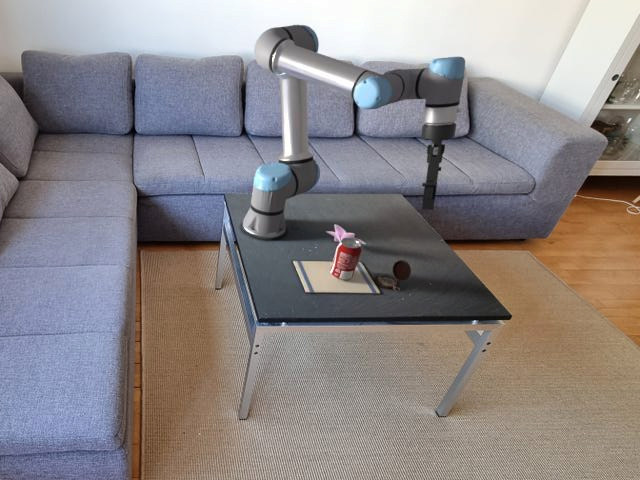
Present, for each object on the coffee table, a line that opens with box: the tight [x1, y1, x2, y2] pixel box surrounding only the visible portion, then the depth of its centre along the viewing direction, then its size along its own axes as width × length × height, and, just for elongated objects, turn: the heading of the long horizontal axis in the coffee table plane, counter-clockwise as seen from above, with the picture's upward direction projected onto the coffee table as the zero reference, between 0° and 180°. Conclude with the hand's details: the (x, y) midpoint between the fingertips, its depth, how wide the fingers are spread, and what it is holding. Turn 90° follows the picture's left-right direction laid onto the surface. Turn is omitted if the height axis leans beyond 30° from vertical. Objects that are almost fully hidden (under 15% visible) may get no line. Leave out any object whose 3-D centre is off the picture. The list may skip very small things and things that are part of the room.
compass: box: [375, 259, 412, 292], centre depth 132 cm, size 8×8×7 cm
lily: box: [325, 224, 367, 245], centre depth 147 cm, size 12×12×10 cm
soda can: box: [330, 238, 362, 280], centre depth 134 cm, size 7×7×12 cm
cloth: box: [292, 260, 381, 295], centre depth 137 cm, size 16×22×1 cm
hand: (428, 201), depth 124 cm, fingers open, 13 cm apart
